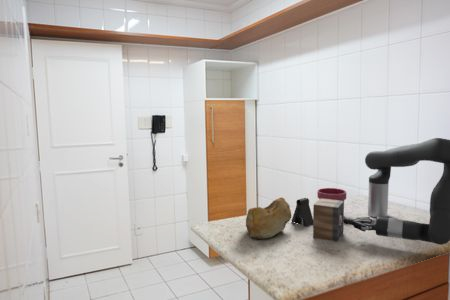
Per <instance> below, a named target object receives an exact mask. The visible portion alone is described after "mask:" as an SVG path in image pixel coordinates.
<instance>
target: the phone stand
mask: <svg viewBox="0 0 450 300" xmlns="http://www.w3.org/2000/svg"><path fill="white" fill-rule="evenodd" d="M291 221H292V222H295V223H294V224H296V223H298V224H297V225H299V224H300V226H302V225H303V226H302V227H309V226H311V225H313V213H312V211H311V208H310V199H309V198H308V197H303V198H299V199H297V200H296V206H295V209H294V213H293V215H292V217H291ZM292 222H291V223H292Z"/></svg>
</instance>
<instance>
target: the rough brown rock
mask: <svg viewBox="0 0 450 300" xmlns="http://www.w3.org/2000/svg"><path fill="white" fill-rule="evenodd" d="M292 217H293V215H292V211H291V208H290V204H289V203H288V202H287V201H286V199H285V198H284V197H279V198H276V199H274V200H273V201H272V202H271V203H270V204H269V205H268V206H266V207H261V206H257V207H252V208H249V209H248V211H247V215H246V218H245V227H246V230H247V233H248V235H249V236H250V237H251V238H255V239H258V238H259V240H262V239H269V238H272V237H274V236H275V235H276V234H280V232H283V231H284V230H285V228H286V225H287V223H289V222H290V221H291V220H292Z"/></svg>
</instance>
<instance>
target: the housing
mask: <svg viewBox="0 0 450 300" xmlns="http://www.w3.org/2000/svg"><path fill="white" fill-rule="evenodd" d="M312 208H313V211H312V212H313V213H312V217H313V224H312V225H313V226H312V228H313V229H312V238H313V239H319V240H324V241H330V242H335V243H339V240H340V238H342V236H343V235H344V225H345V224H344V217H345V200H344V201H340V200H331V199H322V198H321V199H320V200H319V199H318V200H317V201H316V202H315V203H314V204H313V207H312ZM340 215H342V223H341V226H340V225H339V220H340Z"/></svg>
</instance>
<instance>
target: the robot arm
mask: <svg viewBox="0 0 450 300" xmlns="http://www.w3.org/2000/svg"><path fill="white" fill-rule="evenodd" d="M421 161H422V162H423V161H427V162H434V163H440V164H443V171H442V175H441V177H440V179H439V180H438V181H437V183H436V184H435V186H434V187H433V189H432V191H431V194H430V200H429V216H430V217H429V222H428V223H421V222H417V221H411V220H406V219H405V220H403V219H399V218H394V217H389V216H388V214H389V212H388V209H389V183H390V178H391V171H392V167H393V168H406V167H412V166H413V167H414V166H415V165H417V164H418V163H420V162H421ZM364 163H365V165H366V167H367V168H368V169H370V170H376V172H375V173H374V174H372V175H370V176H369V177H368V196H367V199H368V200H367V201H368V202H367V215H368V216H363V217H362V216H361V217H356V218H350V217H349V218H347V217H345V218H344V225H349V226H353V228H354V229H357V230H358V231H362V232H366V231H375V235H376V236H380V237H386V238H394V239H403V240H411V241H422V242H427V243H431V244H436V245H443V246H444V245H446V244H448V243H449V242H450V139H447V138H440V137H435V138H431V139H427V140H425V141H422V142H420V143H415V144H413V143H412V144H407V145H401V146H398V147H397V146H396V147H393V148H390V149H387V150H386V149H385V150H382V151H381V150H378V151H377V150H376V151H375V150H374V151H370V152H368V153H367V154H366V155H365V158H364ZM371 217H372V218H371ZM373 218H376V219H373Z"/></svg>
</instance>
